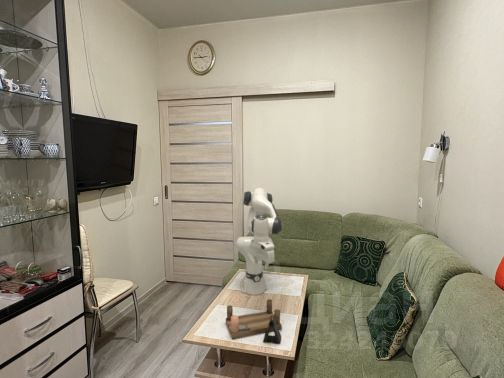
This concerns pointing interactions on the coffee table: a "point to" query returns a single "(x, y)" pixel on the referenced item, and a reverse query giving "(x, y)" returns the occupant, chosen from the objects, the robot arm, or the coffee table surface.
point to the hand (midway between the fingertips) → (261, 265)
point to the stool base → (254, 321)
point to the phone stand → (277, 337)
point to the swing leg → (237, 324)
